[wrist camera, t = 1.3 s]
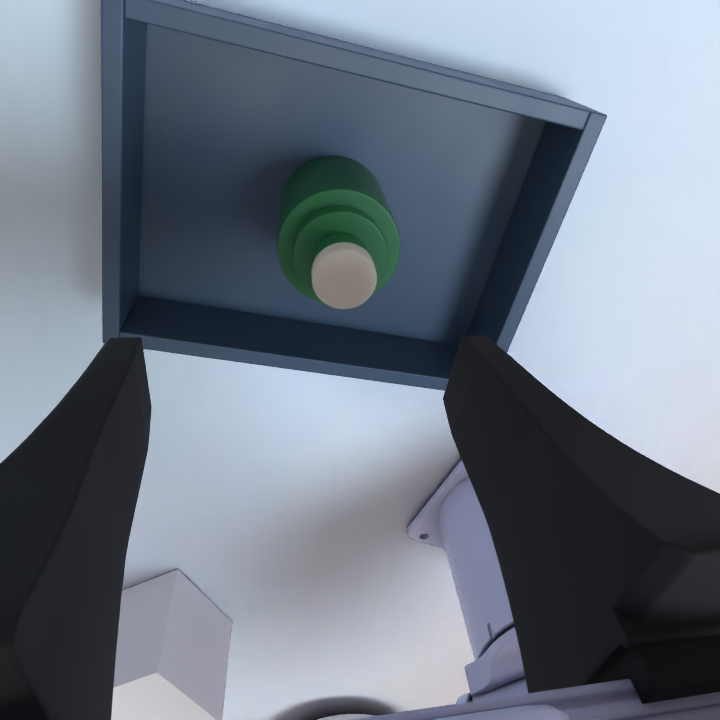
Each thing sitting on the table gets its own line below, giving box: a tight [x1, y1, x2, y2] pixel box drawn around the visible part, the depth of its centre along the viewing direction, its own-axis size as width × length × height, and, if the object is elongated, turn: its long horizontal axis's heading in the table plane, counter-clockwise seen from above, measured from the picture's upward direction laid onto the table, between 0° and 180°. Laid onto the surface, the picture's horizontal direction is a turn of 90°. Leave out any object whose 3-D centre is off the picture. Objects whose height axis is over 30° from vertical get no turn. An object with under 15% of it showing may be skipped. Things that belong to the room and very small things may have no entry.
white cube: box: [111, 569, 232, 720], centre depth 33 cm, size 6×6×6 cm
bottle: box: [277, 156, 401, 309], centre depth 19 cm, size 4×4×6 cm
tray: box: [101, 0, 607, 390], centre depth 21 cm, size 15×11×3 cm
